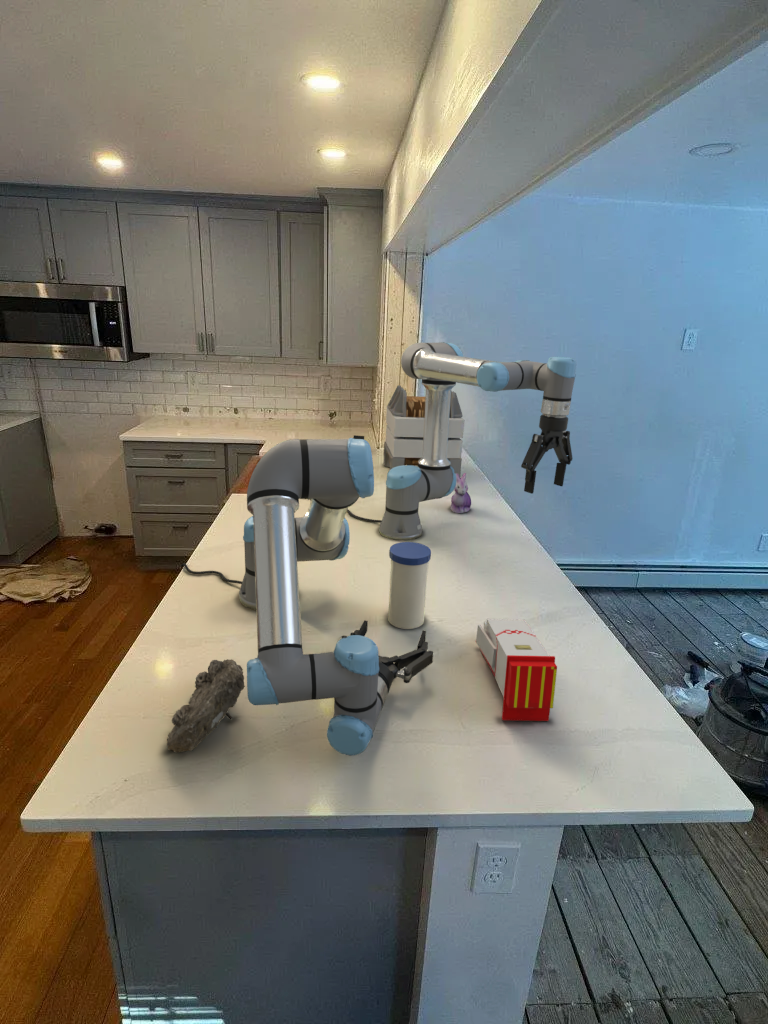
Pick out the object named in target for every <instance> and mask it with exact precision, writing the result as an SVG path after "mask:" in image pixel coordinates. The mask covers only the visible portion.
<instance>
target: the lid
mask: <svg viewBox="0 0 768 1024" xmlns="http://www.w3.org/2000/svg"><path fill="white" fill-rule="evenodd" d="M388 556H389V559H390V561H391V560H393V561H394V562H396V563H399V564H403V565H422V564H425V563H427V562H428V563H429V562H430V560H431V557H432V550H431V548H430V547H429V546H427V545H426V544H423V543H420V542H416V541H415V542H414V541H399V542H396V543H393V544H392V545H390V547H389V550H388Z"/></svg>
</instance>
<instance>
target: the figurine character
mask: <svg viewBox="0 0 768 1024" xmlns="http://www.w3.org/2000/svg"><path fill="white" fill-rule="evenodd" d="M352 438H353V439H364V440H365V435H353V437H352Z"/></svg>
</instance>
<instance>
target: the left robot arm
mask: <svg viewBox="0 0 768 1024" xmlns="http://www.w3.org/2000/svg"><path fill="white" fill-rule="evenodd" d="M374 474H375V473H374V460H373V453H372V447H371V444H370V443H369V441H368V440H366V439H365V438H364V439H353V437H349V438H307V439H305V438H304V439H302V438H301V439H300V438H290V439H285V440H283V441H281V442H278V443H276V444H275V445H274V446H272V447H270V448H269V450H268V451H266V452H265V454H263V456H262V457H261V458H260V459H259V460H258V462H257V464H256V465H255V467H254V468H253V471H252V473H251V476H250V478H249V482H248V486H247V489H246V490H247V491H246V509H247V512H249V513H250V514H251V516H250V517H248V518H247V519H246V520H245V522H244V525H243V536H242V540H243V543H244V544H243V546H244V547H243V548H244V575H243V578H242V580H237V579H236V580H235V579H228V578H226V577H225V576H224V574H223V573H222V572H220V571H217V570H202V571H196V570H195V571H193V570H191V569H190V568H189V567H188V565H187V563H186V562H183V563H181V565H180V567H182V568H183V567H184V568H185V570H186V571H187V573H189V574H191V575H192V574H193V575H205V574H206V575H207V574H216V575H218V576H220V578H221V579H222V580H223V581H225V582H226V583H230V584H238V585H241V586H240V588H239V592H238V597H239V602H240V603H241V604H242V605H243V606H244V607H246V608H248V609H251V610H255V611H256V612H255V613H256V635H257V637H256V639H257V657H254V658H253V659H252V658H251V659H249V660H248V661H247V662H246V690H247V691H246V692H247V700H248V702H249V703H250V704H251V705H253V706H269V705H276V706H279V705H280V704H288V703H289V704H290V703H297V702H305V701H306V702H307V701H315V700H316V701H317V700H326V699H333V701H334V702H333V716H332V718H330V720H329V724H328V727H327V730H326V738H327V741H328V743H329V745H330V746H331V748H333V750H334V751H336V752H338V753H339V754H341V755H346V756H359V755H360V754H362V753H363V752H364V751H365V750H366V749H367V747H368V745H370V741H371V740H372V739H373V736H374V732H375V728H376V726H377V724H378V721H379V718H380V716H381V713H382V710H383V708H384V705H385V702H386V700H387V698H388V695H389V693H390V690H391V688H392V685H393V682H394V680H395V679H397V678H399V679H402V680H403V683H404V684H409V683H410V682H411V680H412V678H413V677H415V676H416V675H417V674H419V673H420V672H422V671H423V670H424V669H426V668H428V667H429V666H430V665H431V664H433V661H434V651H433V650H428V649H429V648H428V647H429V642H428V641H426V636H427V630H425V629H423V630H422V631H421V634H420V636H419V640H418V642H417V646H416V649H414V650H412V651H408V652H406V653H403V654H401V655H398V654H397V655H394V656H390V657H389V656H381V655H379V647H378V645H377V644H376V642H375V641H374V640H373V639H371V638H369V637H368V636H366V634H367V632H368V624H369V623H368V620H366V619H365V620H363V621H362V624H361V626H360V628H359V629H355V630H354V631H352V632H350V634H349V635H341V638H340V639H339V640H338V641H337V642H336V643H335V646H334V650H333V651H328V652H317V653H305V654H304V651H303V635H302V633H303V632H302V617H301V603H300V602H301V601H300V587H299V585H300V583H299V569H298V568H299V567H298V563H299V562H316V561H317V562H318V561H337V560H341V559H344V558H345V556H347V554H348V551H349V545H350V542H351V541H350V540H351V539H350V537H351V535H350V534H351V533H350V526H349V522H348V520H347V519H346V514H347V513H348V512H347V509H348V510H349V508H350V507H352V506H353V505H354V504H356V502H357V501H358V500H359V498H361V499H365V498H370V497H372V496H373V494H374V491H375V475H374ZM300 500H310V503H309V507H308V512H306V513H305V514H304V515H303V517H302V516H301V517H295V513H296V512H297V511H299V509H300Z"/></svg>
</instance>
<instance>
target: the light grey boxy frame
mask: <svg viewBox="0 0 768 1024" xmlns="http://www.w3.org/2000/svg"><path fill="white" fill-rule="evenodd" d="M407 394H408V393H407V390H406V389H404V388H403V387H402V385H399V384H398V385H397V386H396V388H395V390H394V392H393V394H392V395H391V398H390V400H389V402H388V404H387V405H386V413H385V414H386V415H385V423H386V428H385V438H384V442H383V466H384V467H388V468H389V471H390V470H391V469H392V468H394V467H397V466H402V465H405V466H407V465H413V466H417V467H418V461H419V460H420V459H421V458H422V457H423V437H424V417H425V397H426V396H415V395H414V396H413V395H412V396H411V395H407ZM464 429H465V419H464V418H463V411H462V408H461V405H460V402H459V398H458V395H457V392H455V391H453V390H451V398H450V414H449V429H448V445H447V459H448V460H449V461H450V462H451V465H450V466H451V467H452V468H453V469H454V471H455V472H454V473H455V474H456V473H457V474H458V475H459V476H460V477H461V472H462V461H463V460H462V453H463V442H464V441H463V440H462V439H463V438H464V431H465V430H464Z"/></svg>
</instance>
